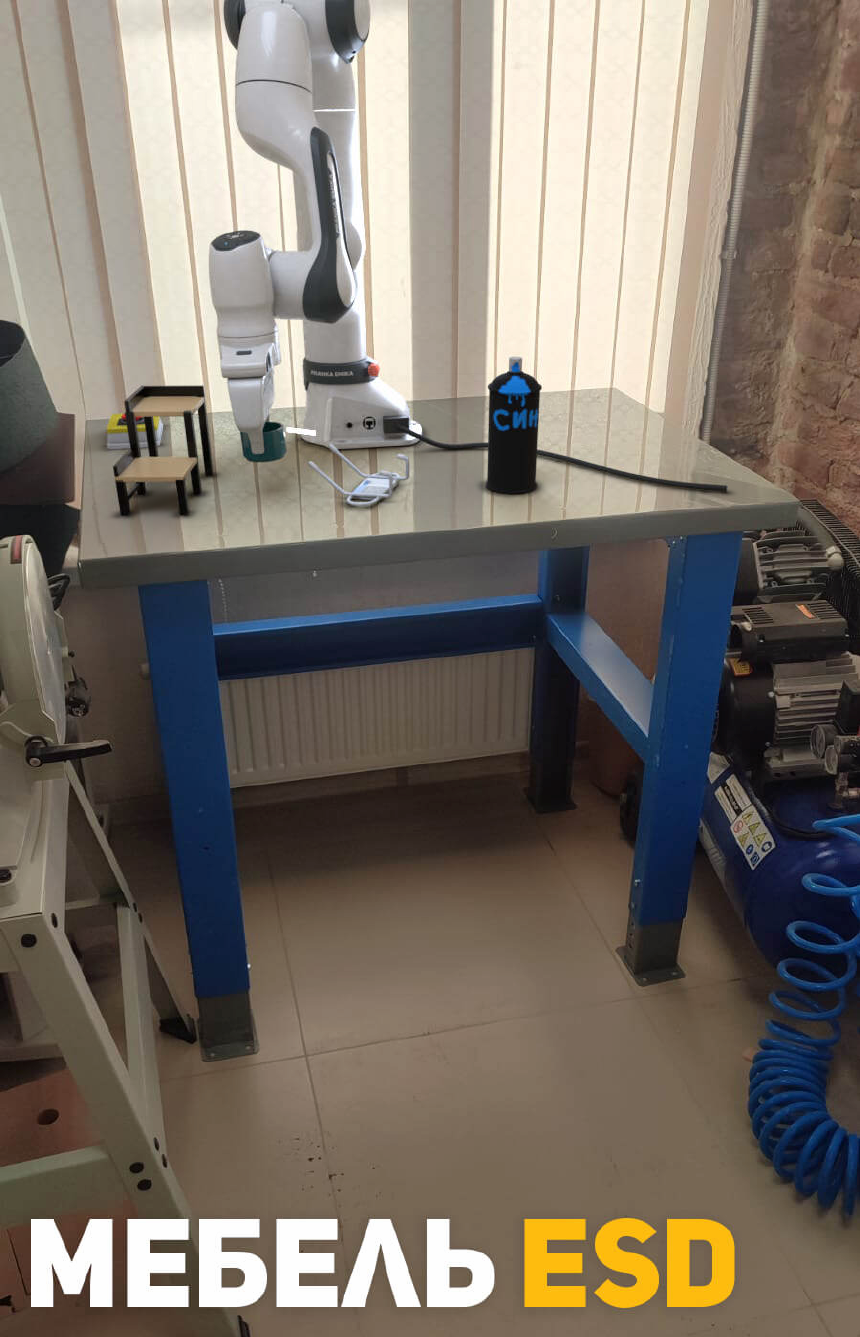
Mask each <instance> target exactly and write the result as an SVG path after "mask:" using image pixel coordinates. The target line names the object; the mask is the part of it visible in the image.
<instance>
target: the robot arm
mask: <svg viewBox="0 0 860 1337" xmlns="http://www.w3.org/2000/svg"><path fill="white" fill-rule="evenodd" d="M223 21H224V27H225V31H226V34H227V37H228V39H229V40H228V41H229V42H230V43H231V45H232V46H233V48H234V49H235V50H236V58H235V59H236V60H235V72H234V74H235V75H234V77H235V78H234V81H235V82H234V113H235V115H234V116H235V120H236V126H237V130H238V132H239V134H240V136H241V138H242V139H243V141H244V142H245V144H247V146H248V147H249V148H250V149H251V150H252V151H254V152H255V153H256V154H257V155H258V156H260V157H261V158H264V159H266V160H267V161H270V162H271V163H274V164H276V165H278V166H281V167H283V168H285V169H287V170H289V171H291V172H292V183H293V193H294V194H293V196H294V205H295V218H296V249H297V250H277V249H276V250H274V249H273V248H270V247H268V246H266V245H265V241H264V238H263V236H262V235H261V233H259V232H257V231H254V230H246V229H245V230H244V229H243V230H234V231H231V232H225V233H222V234H220V235H218V236H216V237H215V238H214V239H213V240H212V241H211V242H210V244H209V249H208V277H209V278H208V279H209V288H210V297H211V303H212V306H213V308H214V310H215V314H216V318H217V323H216V324H217V325H216V339H217V346H218V353H219V360H220V373H221V377H222V378H223V379H226V384H227V385H226V386H227V391H228V395H229V400H230V406H231V410H232V415H233V419H234V423H235V426H236V428H237V430H238V432H239V433H240V432H247V433H248V436H249V439H250V442H251V447H252V452H253V453H254V454H262V453H263V452H264V450H265V445H264V439H263V433H262V430H263V427H264V424H265V422H267V421H270V420H271V417H270V416H271V412H270V411H271V409H272V407H273V404H274V401H275V399H276V386H275V380H274V375H275V369H274V368H275V367H276V366H278V365H280V364H281V363H282V354H281V346H280V339H279V338H280V337H279V329H278V324H277V322H276V320H278V319H279V320H283V321H284V320H285V321H286V320H288V321H289V320H290V321H293V320H294V321H302V334H303V348H304V357H303V359H302V365H301V366H302V367H301V368H302V381H303V386H304V390H305V409H304V419H303V425H302V428H295V427H289V426H288V427H286V432H287V433H293V434H294V433H295V434H300V438H302V439H303V440H304V441H306V442H308V443H311V444H316V445H321V446H323V447H325V448H328V449H329V445H330V444H332V445H333V446H335V447H336V448H337V449H338V450H345V449H346V450H347V449H349V450H350V449H363V448H365V449H366V448H379V447H382V448H383V447H397V446H410V445H411V446H412V445H415V444H416V443H418V442H419V441H422V442H423V443H425V444H428V445H429V446H432V447H435V448H437V449H438V448H439V449H445V450H467V449H478V448H480V449H481V448H483V449H485V448H486V449H488V442H486V441H485V442H482V441H481V442H469V443H456V444H455V443H443V442H439V441H436V440H433V439H431V438H430V437H429V438H428V437H426V436H424V435H423V428H422V425H421V424H420V423H419V422H417V421H415V420H412V419H411V412H410V409H409V406H408V403H407V401H406V399H405V397H404V396H402V395H401V394H400V393H399V392H398V391H396V390H395V389H393V388H392V387H391V386H390V385H388V384H387V383H386V382H384V381H383V380H381V378H379V374H380V366H379V362H378V361H377V360H378V359H376V358H374V359H373V358H372V357H370V356H368V355H367V340H366V339H367V336H366V308H365V300H364V287H363V276H362V274H363V273H362V262H363V259H364V256H365V253H366V237H365V236H366V235H365V221H364V220H365V219H364V207H363V194H362V193H363V192H362V184H361V174H360V173H361V172H360V159H359V158H360V156H359V136H358V133H359V132H358V112H357V98H356V88H355V80H354V74H353V73H354V72H353V68H352V63H353V61H354V59H355V56H356V55H358V53H361V50H362V49H363V47H364V46H365V44H366V42H367V40H368V37H369V34H370V28H371V27H370V26H371V4H370V0H223ZM275 319H276V320H275ZM270 422H271V421H270ZM537 456H541V457H545V458H550V459H554V460H558V461H561V462H565V463H569V464H573V465H577V466H581V467H583V468H587V469H591V470H593V471H598V472H602V473H605V474H606V473H607V474H610V475H613V476H617V477H620V478H625V479H628V480H629V479H630V480H634V481H639V482H643V483H647V484H648V483H649V484H654V485H660V486H666V487H673V488H680V489H690V490H701V491H702V490H703V491H716V492H728V485H726V484H725V485H723V484H710V483H699V482H688V481H687V482H686V481H678V480H671V479H665V478H657V477H652V476H648V475H642V474H637V473H632V472H628V471H624V470H619V469H615V468H611V467H608V466H606V465H605V466H604V465H602V464H601V465H600V464H596V463H592V462H590V461H586V460H583V459H579V458H575V457H571V456H568V455H564V454H560V453H554V452H551V451H547V450H542V449H538V448H537Z"/></svg>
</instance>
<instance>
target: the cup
mask: <svg viewBox="0 0 860 1337" xmlns="http://www.w3.org/2000/svg"><path fill="white" fill-rule="evenodd" d="M262 433H263V439H264V445H265V450H264V452H263V453H262V454H254V453H253V452H252V447H251V442H250V439H249V436H248V433H247V432H240V431H239V435H240V444H241V449H242V456H243V457H244V458H245V459H246V460H247V461H248V462H251V463H271V462H275V461H279V460H281V459H283V458H284V457H285V455H286V454H287V452H288V450H287V441H286V432H285V425H284V424H283V423H282V422H278V421H267V422H265V424H264V427H263V430H262Z"/></svg>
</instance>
